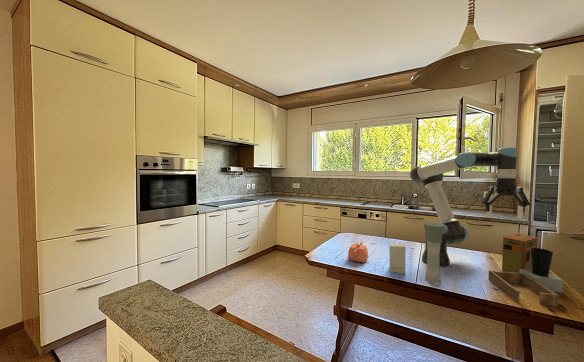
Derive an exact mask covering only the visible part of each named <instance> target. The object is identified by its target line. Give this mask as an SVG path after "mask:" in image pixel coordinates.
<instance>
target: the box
mask: <svg viewBox="0 0 584 362" xmlns="http://www.w3.org/2000/svg"><path fill="white" fill-rule="evenodd" d="M502 238H503V241H502V242H503V243H502V261H501V262H502V263H501V271H503V272H514V273H519V269H530V270H532V261H531V248H538V239H539V237H538V236H532V235H528V234H522V233H513V234H511V235H506V236H503V237H502Z"/></svg>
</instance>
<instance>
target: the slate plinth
mask: <svg viewBox="0 0 584 362" xmlns="http://www.w3.org/2000/svg"><path fill="white" fill-rule="evenodd" d="M519 273H523V274H525V275H527V276H528V277H530V278H532V279H533V280H535V281H536V282H538V283H540V284H541V285H543V286H545V287H546V288H548V289H550V290H551V291H553V292H554V293H560V294H561V293H562V294H563V293H564V291H563V290H564V280H563V279H562V278H560V277H558V276H556V275H554V274H552V273H550V272H549V275H548V277H544V276H539V275H536V274H533V273H532V270H530V269H519Z"/></svg>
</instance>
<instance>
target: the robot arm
mask: <svg viewBox="0 0 584 362" xmlns="http://www.w3.org/2000/svg"><path fill="white" fill-rule="evenodd" d="M517 161H518V149H517V148H516V147H500V148H498V149H497V151H495V152H470V151H469V152H468V151H466V152H461V153H458V154H457V155H455V156H453V157H450V158H447V159H444V160H440V161H437V162H434V163H430V164H427V165H424V164H422V165H419V166H415V167H413V168H412V169H411V170H410V173H409V177H410V179H411V181H413V182H414V183H417V184H422V185H423V187H424V188H426V190H427V191H428V194H429V196H430V198H431V199H430V200H431V201H432V204H433V206H434V208H435V209H434V210H435V212H436V214H437V217H438V219H439V223H441V224H444V225H445V228H444V232H443V235H442V242H441V245H440V253H439V267H440V266H441V267H442V268H443V267H444V268H445V267H449V266H450V264H451V260H450V258H449V254H448V245H458V244H463V243H465V242H466V241H467V239H468V237H469V231H468V229H467V227H465V226H464V225H463V224H461V223H460V220H458V219H456V218H455V216H454V213H453V210H452V208H451V206H450V203H449V200H448V199H447V196H446V193H445V191H444V188H443V186H442V185H443V183H444V182H443V179H444V175H445V173H449V172H453V171H459V170H461V169H465V168H470V167H480V168H481V167H483V168H484V167H496V177H497V178H496V186H489V187H488V191H487V192H486V194H485V195H484V197H483V199H482V200H481V204H483V205H484V206H485V211H486V213H487V214H486V218H488V219H492V215H493V214H492V211H493V205H492V204H493V203H494V202H495V201H496V200H498V198H499V197H501V196H507V197H508V196H509V197H512V199H513V200H514V201H515V202H516V203H517V204H518V206H517V214H516V215H517V216H516V217H517V219H518V220H523V219H524V213H525V212H526V207H528V206H530V205H531V203H530V201H529V199H528V198H527V196H526V194H525V192H524V187H522V186H517V187H516V185H517V178H516V177H517V165H518V163H517ZM495 191H496V192H495ZM494 192H495V193H494ZM516 192H517V193H518V195H519V196H518V195H517V194H516ZM424 242H425V243H424V244H425V248H424V251H423V253H422V255H421V261H422V262H423V263H425V264H427V253H428V251H427V241H426V235H425V241H424Z"/></svg>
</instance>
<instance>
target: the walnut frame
mask: <svg viewBox="0 0 584 362" xmlns="http://www.w3.org/2000/svg"><path fill="white" fill-rule="evenodd" d="M487 278H488V279H487V280H488V281H490V282H491V283H492V284H493V285H495V287H496V288H498V289H499V290H501V291H502V292H503V293H504V294H505V295H507V296H508V297H509V298H510V299H512V300H513V301H514V302H515V301H516V302H515V303H520V291H519V290H518V289H517V288H516V287H514V286H513V285H511V283H513V284H514V283H515V284H521V285H523V286H525V287H526V288H528V289H529V290H531V291H532V292H534V293H535V294H536V295H537V296H539V303H538V304H539V305H541V306H548V307H549V306H550V307H555V308H556V307H558V308H559V302H560V294H558V293H557V292H553V291H551V290H550V289H548V288H546V287H545V286H543V285H541V284H540V283H538V282H536V281H535V280H533V279H532V278H530V277H528V276H527V275H525V274H523V273H514V272H503V271H502V270H488V277H487Z"/></svg>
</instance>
